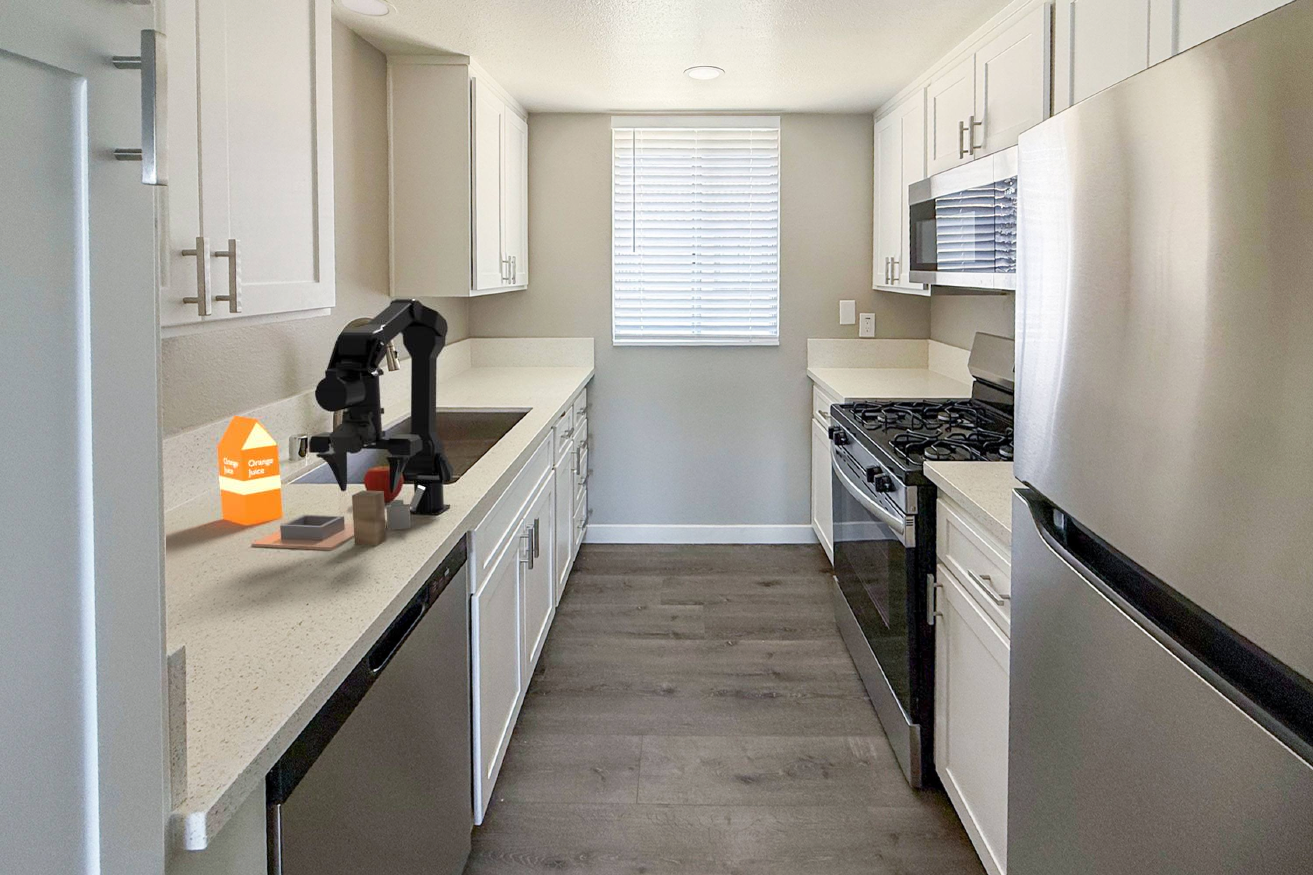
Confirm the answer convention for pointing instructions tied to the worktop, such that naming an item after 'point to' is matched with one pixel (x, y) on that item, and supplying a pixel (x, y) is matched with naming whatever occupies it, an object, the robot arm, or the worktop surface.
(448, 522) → the worktop surface
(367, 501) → the wooden block
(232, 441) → the orange juice
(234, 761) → the worktop surface
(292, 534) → the block holder
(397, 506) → the lighter
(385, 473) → the apple
